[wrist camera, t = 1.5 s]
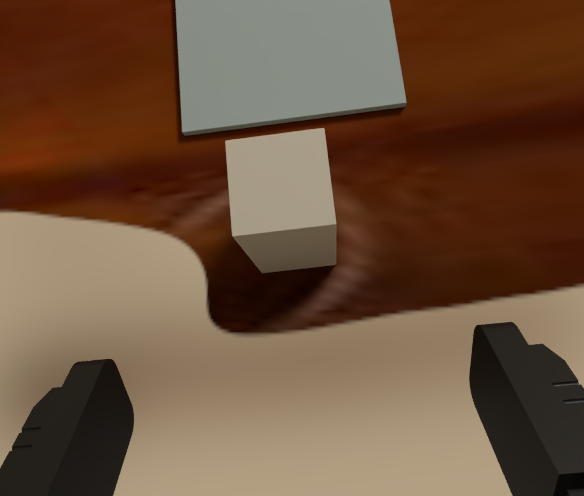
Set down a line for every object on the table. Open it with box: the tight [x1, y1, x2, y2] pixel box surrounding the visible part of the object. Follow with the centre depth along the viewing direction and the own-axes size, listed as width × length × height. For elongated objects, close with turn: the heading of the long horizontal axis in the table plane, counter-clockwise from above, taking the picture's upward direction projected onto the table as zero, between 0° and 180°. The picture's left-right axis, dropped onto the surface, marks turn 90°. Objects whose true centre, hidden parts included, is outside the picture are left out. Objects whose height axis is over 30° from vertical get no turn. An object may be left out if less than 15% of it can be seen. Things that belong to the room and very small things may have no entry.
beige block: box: [225, 128, 336, 273], centre depth 29 cm, size 5×5×10 cm
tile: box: [175, 0, 406, 136], centre depth 38 cm, size 16×16×1 cm
